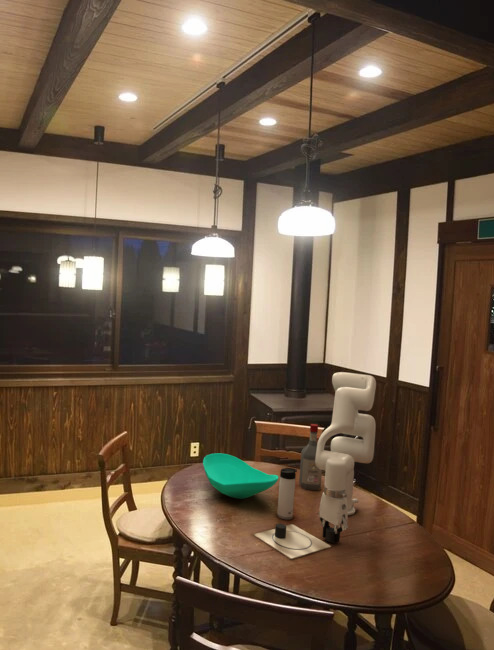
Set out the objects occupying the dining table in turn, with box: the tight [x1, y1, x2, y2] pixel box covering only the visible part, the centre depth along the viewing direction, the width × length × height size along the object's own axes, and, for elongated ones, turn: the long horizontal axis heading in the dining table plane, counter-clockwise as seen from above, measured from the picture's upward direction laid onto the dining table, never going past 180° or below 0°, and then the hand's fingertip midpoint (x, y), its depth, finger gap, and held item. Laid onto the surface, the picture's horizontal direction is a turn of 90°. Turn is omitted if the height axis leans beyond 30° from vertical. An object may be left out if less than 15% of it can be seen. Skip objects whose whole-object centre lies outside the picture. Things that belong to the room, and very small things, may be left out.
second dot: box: [324, 526, 334, 543], centre depth 200 cm, size 4×4×4 cm
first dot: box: [274, 523, 287, 539], centre depth 201 cm, size 4×4×4 cm
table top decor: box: [202, 452, 280, 500], centre depth 239 cm, size 40×28×13 cm
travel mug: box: [276, 467, 298, 521], centre depth 219 cm, size 6×7×20 cm
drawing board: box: [253, 523, 332, 560], centre depth 199 cm, size 20×20×1 cm
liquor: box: [298, 423, 323, 491], centre depth 255 cm, size 9×9×30 cm
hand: (330, 539), depth 200 cm, fingers closed on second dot, 4 cm apart
